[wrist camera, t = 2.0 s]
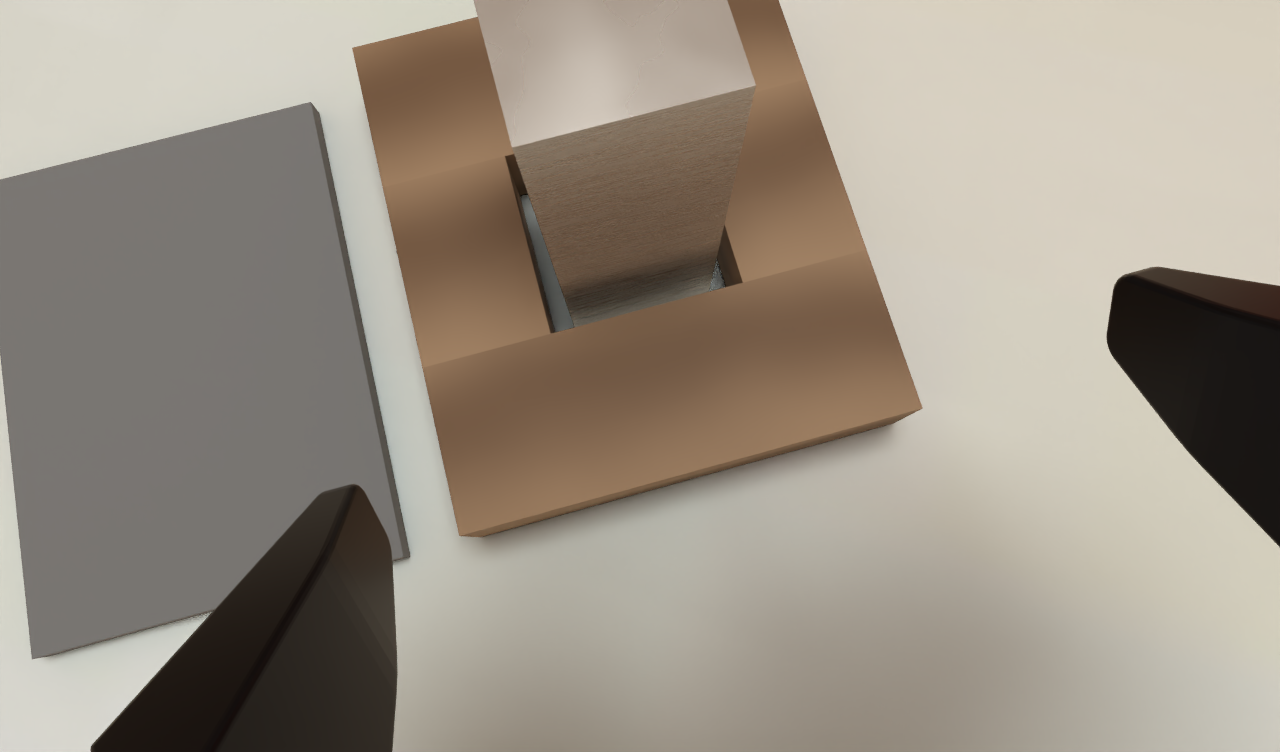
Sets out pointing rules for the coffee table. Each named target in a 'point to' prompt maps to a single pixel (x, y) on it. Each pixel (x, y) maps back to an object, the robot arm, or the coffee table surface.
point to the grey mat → (179, 371)
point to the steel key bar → (623, 139)
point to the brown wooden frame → (634, 342)
